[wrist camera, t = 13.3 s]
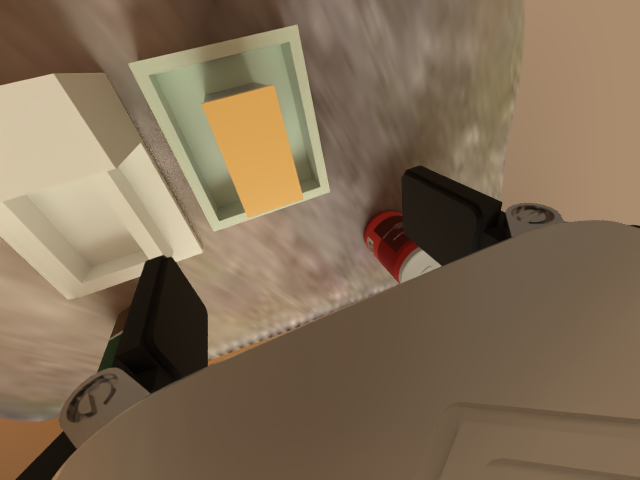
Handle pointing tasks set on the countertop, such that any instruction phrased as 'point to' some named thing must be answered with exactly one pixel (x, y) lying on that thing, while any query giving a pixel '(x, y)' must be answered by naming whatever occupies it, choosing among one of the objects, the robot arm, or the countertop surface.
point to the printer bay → (82, 186)
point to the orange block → (254, 146)
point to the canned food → (396, 247)
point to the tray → (220, 74)
